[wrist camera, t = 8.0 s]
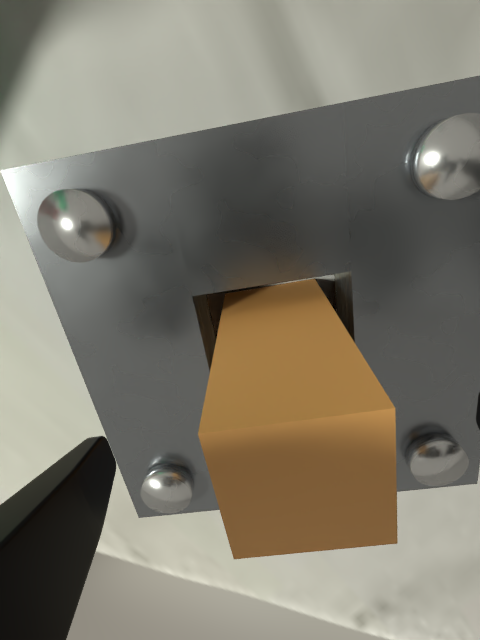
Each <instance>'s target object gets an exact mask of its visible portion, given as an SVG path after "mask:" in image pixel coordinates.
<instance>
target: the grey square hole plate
mask: <svg viewBox="0 0 480 640" xmlns="http://www.w3.org/2000/svg"><path fill="white" fill-rule="evenodd" d="M0 171H1V173H2V176H3V178H4V181H5V183H6V186H7V188H8V191H9V193H10V196H11V198H12V201H13V203H14V206H15V208H16V211H17V213H18V216H19V218H20V221H21V223H22V226H23V228H24V231H25V233H26V236H27V238H28V241H29V243H30V246H31V248H32V251H33V254H34V256H35V259H36V261H37V264H38V266H39V269H40V271H41V274H42V276H43V279H44V281H45V284H46V286H47V289H48V291H49V294H50V296H51V299H52V301H53V304H54V306H55V309H56V311H57V314H58V316H59V319H60V321H61V324H62V326H63V329H64V331H65V334H66V336H67V339H68V341H69V344H70V346H71V349H72V351H73V354H74V356H75V359H76V361H77V364H78V366H79V369H80V371H81V374H82V376H83V379H84V381H85V384H86V386H87V389H88V391H89V394H90V396H91V399H92V401H93V404H94V406H95V409H96V411H97V414H98V416H99V419H100V421H101V424H102V426H103V429H104V431H105V434H106V436H107V439H108V441H109V444H110V446H111V449H112V451H113V454H114V456H115V459H116V461H117V464H118V466H119V469H120V471H121V474H122V476H123V479H124V481H125V484H126V486H127V489H128V491H129V494H130V496H131V499H132V501H133V504H134V507H135V509H136V512H137V514H138V517H139V518H142V517H152V516H162V515H172V514H182V513H191V512H201V511H211V510H220V509H219V506H218V502H217V499H216V495H215V492H214V488H213V485H212V481H211V478H210V474H209V471H208V467H207V464H206V460H205V457H204V453H203V450H202V447H201V443H200V440H199V436H198V431H199V426H200V421H201V416H202V410H203V405H204V400H205V395H206V390H207V385H208V380H209V375H210V370H211V364H212V359H213V354H214V349H215V344H216V338H215V333H214V329H213V324H212V320H211V315H210V311H209V306H208V301H207V297H206V294H210V293H216V292H223V291H229V290H235V289H242V288H248V287H255V286H261V285H267V284H274V283H280V282H287V281H293V280H300V279H306V278H312V277H319V276H325V275H332V274H334V275H335V290H336V304H337V315H338V317H339V319H340V320H341V322H342V323H343V325H344V327H345V328H346V330H347V331H348V333H349V335H350V336H351V338H352V339H353V341H354V343H355V344H356V346H357V347H358V349H359V351H360V352H361V354H362V355H363V357H364V359H365V360H366V362H367V363H368V365H369V367H370V368H371V370H372V371H373V373H374V375H375V376H376V378H377V379H378V381H379V383H380V384H381V386H382V387H383V389H384V391H385V392H386V394H387V395H388V397H389V399H390V400H391V402H392V403H393V405H394V407H395V416H396V483H397V492H399V491H408V490H418V489H428V488H438V487H448V486H458V485H468V484H477V481H478V473H479V464H480V430H479V428H478V426H477V423H476V411H477V402H478V394H479V392H480V76H476V77H470V78H465V79H460V80H455V81H450V82H445V83H440V84H435V85H430V86H425V87H420V88H415V89H410V90H405V91H400V92H395V93H389V94H384V95H379V96H374V97H369V98H364V99H359V100H354V101H349V102H344V103H339V104H334V105H329V106H324V107H319V108H313V109H308V110H303V111H298V112H293V113H288V114H283V115H278V116H273V117H268V118H263V119H258V120H253V121H248V122H243V123H238V124H232V125H227V126H222V127H217V128H212V129H207V130H202V131H197V132H192V133H187V134H182V135H177V136H172V137H167V138H162V139H157V140H151V141H146V142H141V143H136V144H131V145H126V146H121V147H116V148H111V149H106V150H101V151H96V152H91V153H86V154H81V155H75V156H70V157H65V158H60V159H55V160H50V161H45V162H40V163H35V164H30V165H25V166H20V167H15V168H10V169H5V170H0Z"/></svg>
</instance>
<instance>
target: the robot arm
mask: <svg viewBox="0 0 480 640" xmlns="http://www.w3.org/2000/svg"><path fill="white" fill-rule="evenodd" d="M476 423H477V426H478V428H479V430H480V392H479V394H478V402H477V411H476ZM115 472H116V461H115V458H114V455H113V453H112V450H111V448H110V445H109V443H108V441H107V439H106V438H105V437H103V436H98V437H91V438H87V439H86V440H84V441H83V442H82V443H81V444H79V445H78V446H77V447H75V448H74V449H73V450H71V451H70V452H69V453H68V454H66V455H65V456H64V457H62V458H61V459H60V460H58V461H57V462H56V463H54V464H53V465H52V466H51V467H49V468H48V469H47V470H45V471H44V472H43V473H41V474H40V475H39V476H38V477H36V478H35V479H34V480H32V481H31V482H30V483H28V484H27V485H26V486H25V487H23V488H22V489H21V490H19V491H18V492H17V493H15V494H14V495H13V496H12V497H10V498H9V499H8V500H6V501H5V502H4V503H2V504H1V505H0V640H66V638H67V635H68V632H69V629H70V626H71V623H72V620H73V617H74V614H75V611H76V608H77V605H78V602H79V599H80V596H81V593H82V590H83V587H84V584H85V581H86V578H87V575H88V572H89V569H90V566H91V563H92V560H93V557H94V554H95V551H96V548H97V545H98V542H99V539H100V535H101V532H102V528H103V524H104V520H105V516H106V512H107V507H108V503H109V498H110V494H111V490H112V485H113V481H114V476H115Z"/></svg>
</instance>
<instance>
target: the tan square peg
mask: <svg viewBox="0 0 480 640" xmlns="http://www.w3.org/2000/svg"><path fill="white" fill-rule="evenodd" d="M198 436H199V440H200V443H201V447H202V450H203V453H204V457H205V460H206V464H207V467H208V471H209V474H210V478H211V481H212V485H213V488H214V492H215V495H216V499H217V502H218V506H219V509H220V512H221V516H222V519H223V523H224V526H225V530H226V533H227V537H228V540H229V544H230V547H231V551H232V554H233V558H234V559H241V558H251V557H262V556H272V555H282V554H293V553H303V552H313V551H324V550H334V549H344V548H355V547H365V546H375V545H386V544H396V543H397V483H396V416H395V407H394V405H393V403H392V402H391V400H390V399H389V397H388V395H387V394H386V392H385V391H384V389H383V387H382V386H381V384H380V383H379V381H378V379H377V378H376V376H375V375H374V373H373V371H372V370H371V368H370V367H369V365H368V363H367V362H366V360H365V359H364V357H363V355H362V354H361V352H360V351H359V349H358V347H357V346H356V344H355V343H354V341H353V339H352V338H351V336H350V335H349V333H348V331H347V330H346V328H345V327H344V325H343V323H342V322H341V320H340V319H339V317H338V315H337V314H336V312H335V310H334V309H333V307H332V306H331V304H330V302H329V301H328V299H327V298H326V296H325V294H324V293H323V291H322V290H321V288H320V286H319V285H318V283H317V282H316V280H315V279H310V280H304V281H298V282H292V283H286V284H280V285H274V286H268V287H262V288H256V289H250V290H244V291H238V292H232V293H226V294H225V298H224V303H223V308H222V313H221V318H220V323H219V329H218V334H217V339H216V344H215V349H214V354H213V359H212V364H211V370H210V375H209V380H208V385H207V390H206V395H205V400H204V405H203V410H202V416H201V421H200V426H199V431H198Z"/></svg>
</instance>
